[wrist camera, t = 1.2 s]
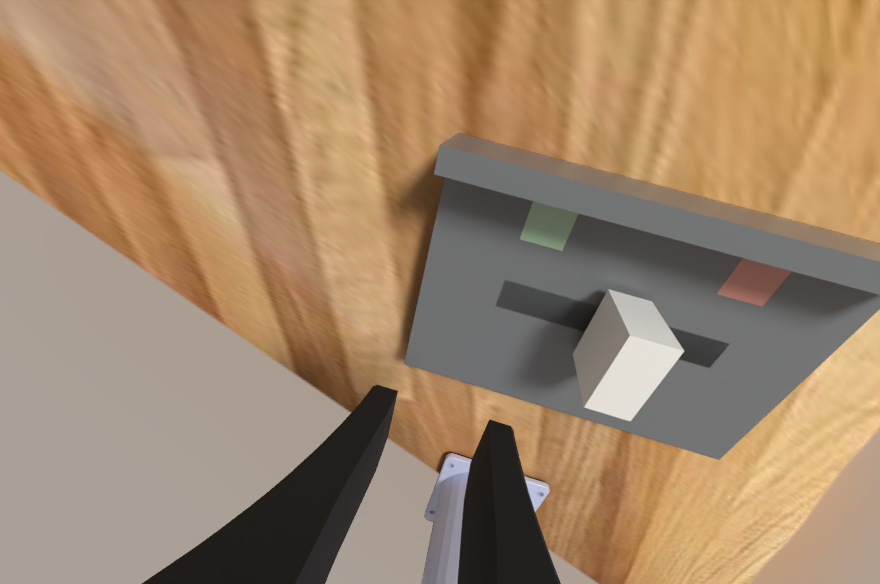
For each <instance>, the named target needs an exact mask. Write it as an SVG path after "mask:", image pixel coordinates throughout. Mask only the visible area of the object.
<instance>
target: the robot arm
mask: <svg viewBox="0 0 880 584" xmlns="http://www.w3.org/2000/svg"><path fill="white" fill-rule="evenodd" d="M397 392H398V391H396V390H392V389H389V388H386V387H383V386H380V385H376V386H373V387H372V389H371V390H370V391H369V393H368V394H367V395H366V397H365V398H364V399H363V400H362V401H361V403H360V404H359V405H358V406H357V407H356V408H355V410H354V411H353V412H352V413H351V414H350V415H349V416H348V417H347V418H346V420H345V421H344V422H343V423H342V424H341V425H340V426H339V427H338V428H337V429H336V430H335V431H334V432H333V433H332V434H331V435H330V436H329V437H328V438H327V439H326V440H325V441H324V442H323V444H321V445H320V446H319V447H318V448H317V449H316V450H315V451H314V452H313V453H312V454H310V455H309V457H307V458H306V459H305V460H304V461H303V462H302V463H301V464H300V465H298V466H297V467H296V468H295V469H294V470H293V471H292V472H291V473H290V474H289V475H288V476H286V477H285V478H284V479H283V480H282V481H280V482H279V483H278V484H277V485H276V486H275V487H274V488H272V489H271V490H270V491H269V492H267V493H266V494H265V495H264V496H262V497H261V498H260V499H259V500H257V501H256V502H255V503H254V504H252V505H251V506H250V507H249V508H247V509H246V510H245V511H243V512H242V513H241V514H240V515H238V516H237V517H236V518H234V519H233V520H232V521H230V522H229V523H228V524H226V525H225V526H224V527H222V528H221V529H220V530H219V531H217V532H216V533H214V534H213V535H212V536H210V537H209V538H207V539H206V540H205V541H203V542H202V543H201V544H199V545H198V546H197V547H195V548H194V549H192V550H191V551H189V552H188V553H186V554H185V555H183V556H182V557H180V558H179V559H177V560H176V561H175V562H173V563H172V564H170V565H169V566H167V567H166V568H164V569H163V570H161V571H160V572H158V573H157V574H155V575H154V576H152V577H151V578H150V579H148V580H147V581H145V582H144V583H142V584H325V582H326V580H327V577H328V575H329V572H330V570H331V568H332V565H333V563H334V561H335V558H336V556H337V554H338V551H339V549H340V547H341V545H342V543H343V541H344V538H345V536H346V534H347V532H348V530H349V528H350V525H351V523H352V521H353V519H354V517H355V515H356V513H357V510H358V508H359V506H360V504H361V502H362V500H363V497H364V495H365V493H366V491H367V489H368V487H369V484H370V482H371V480H372V478H373V476H374V474H375V471H376V468H377V466H378V463H379V460H380V457H381V455H382V452H383V449H384V446H385V443H386V440H387V437H388V434H389V429H390V424H391V420H392V415H393V411H394V406H395V401H396V397H397ZM548 493H549V485H548V484H547V483H545V482H542V481H538V480H535V479H532V478H529V477H526V476H524V474H523V470H522V466H521V462H520V459H519V455H518V450H517V446H516V442H515V437H514V432H513V429H512V427H511V426H508V425H505V424H502V423H499V422H495V421H492V420H489V422H488V424H487V426H486V429H485V431H484V433H483V435H482V438H481V440H480V442H479V445H478V447H477V449H476V451H475V454H474V456H473V458H472V459H469V458H466V457H463V456H460V455H457V454H453V453H449V454H447V455H446V458H445V461H444V463H443V466H442V469H441V471H440V474H439V477H438V479H437V482H436V485H435V487H434V490H433V493H432V496H431V498H430V501H429V503H428V506H427V509H426V512H425V518H426V519H427V520H429V521H432V522H434V523H433V528H432V533H431V538H430V543H429V548H428V553H427V558H426V563H425V568H424V573H423V578H422V583H421V584H561V583H560V580H559V578H558V575H557V573H556V570H555V568H554V565H553V562H552V560H551V557H550V554H549V551H548V549H547V546H546V543H545V540H544V538H543V535H542V532H541V529H540V526H539V523H538V520H537V517H536V514H535V512H536V510H537V509H538V508H539V506H540V505H541V503H542V502H543V500H544V499H545V497H546V496H547V495H548Z"/></svg>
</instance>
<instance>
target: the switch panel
mask: <svg viewBox="0 0 880 584" xmlns="http://www.w3.org/2000/svg"><path fill="white" fill-rule="evenodd" d="M434 174H435V175H438V176H442V177H445V178H444V183H443V187H442V192H441V196H440V201H439V206H438V210H437V215H436V219H435V224H434V229H433V233H432V238H431V242H430V247H429V252H428V256H427V261H426V265H425V270H424V275H423V279H422V284H421V288H420V293H419V298H418V302H417V307H416V311H415V316H414V321H413V325H412V330H411V334H410V339H409V344H408V348H407V353H406V357H405V362H404V364H407V365H410V366H414V367H417V368H420V369H423V370H427V371H430V372H433V373H436V374H440V375H443V376H446V377H449V378H453V379H456V380H459V381H463V382H466V383H469V384H472V385H476V386H479V387H482V388H485V389H489V390H492V391H495V392H499V393H502V394H505V395H508V396H512V397H515V398H518V399H521V400H525V401H528V402H531V403H535V404H538V405H541V406H544V407H548V408H551V409H554V410H557V411H561V412H564V413H567V414H571V415H574V416H577V417H580V418H584V419H587V420H590V421H593V422H597V423H600V424H603V425H607V426H610V427H613V428H616V429H620V430H623V431H626V432H629V433H633V434H636V435H639V436H643V437H646V438H649V439H652V440H656V441H659V442H662V443H665V444H669V445H672V446H675V447H679V448H682V449H685V450H688V451H692V452H695V453H698V454H701V455H705V456H708V457H711V458H715V459H718V460H719V459H720V458H721V457H723V456H724V455H725V454H726V453H727V452H728V451H729V450H730V449H731V448H732V447H733V446H734V445H735V444H736V443H737V442H739V441H740V440H741V439H742V438H743V437H744V436H745V435H746V434H747V433H748V432H749V431H750V430H751V429H752V428H753V427H754V426H756V425H757V424H758V423H759V422H760V421H761V420H762V419H763V418H764V417H765V416H766V415H767V414H768V413H769V412H770V411H772V410H773V409H774V408H775V407H776V406H777V405H778V404H779V403H780V402H781V401H782V400H783V399H784V398H785V397H786V396H788V395H789V394H790V393H791V392H792V391H793V390H794V389H795V388H796V387H797V386H798V385H799V384H800V383H801V382H802V381H804V380H805V379H806V378H807V377H808V376H809V375H810V374H811V373H812V372H813V371H814V370H815V369H816V368H817V367H818V366H820V365H821V364H822V363H823V362H824V361H825V360H826V359H827V358H828V357H829V356H830V355H831V354H832V353H833V352H834V351H836V350H837V349H838V348H839V347H840V346H841V345H842V344H843V343H844V342H845V341H846V340H847V339H848V338H849V337H850V336H851V335H853V334H854V333H855V332H856V331H857V330H858V329H859V328H860V327H861V326H862V325H863V324H864V323H865V322H866V321H867V320H869V319H870V318H871V317H872V316H873V315H874V314H875V313H876V312H877V311H878V310H879V309H880V243H876V242H872V241H869V240H865V239H861V238H857V237H853V236H849V235H846V234H842V233H838V232H834V231H830V230H827V229H823V228H819V227H815V226H811V225H808V224H804V223H800V222H796V221H792V220H788V219H785V218H781V217H777V216H773V215H769V214H766V213H762V212H758V211H754V210H750V209H747V208H743V207H739V206H735V205H731V204H727V203H724V202H720V201H716V200H712V199H708V198H705V197H701V196H697V195H693V194H689V193H686V192H682V191H678V190H674V189H670V188H667V187H663V186H659V185H655V184H651V183H647V182H644V181H640V180H636V179H632V178H628V177H625V176H621V175H617V174H613V173H609V172H606V171H602V170H598V169H594V168H590V167H586V166H583V165H579V164H575V163H571V162H567V161H564V160H560V159H556V158H552V157H548V156H545V155H541V154H537V153H533V152H529V151H526V150H522V149H518V148H514V147H510V146H506V145H503V144H499V143H495V142H491V141H487V140H484V139H480V138H476V137H472V136H468V135H465V134H461V133H458V134H456V135H455V136H453V137H452V138H450V139H448V140H447V141H445V142H443V143H442V144H440V146H439V151H438V156H437V161H436V166H435V171H434ZM608 289H610V290H613V291H617V292H620V293H624V294H628V295H631V296H635V297H638V298H642V299H645V300H649V301H652V302H653V304H654V305H655V307H656V308H657V310H658V311H659V313H660V314H661V316H662V318H663V319H664V321H665V322H666V324H667V325H668V327H669V328H670V330H671V331H672V333H673V334H674V336H675V337H676V339H677V341H678V342H679V344H680V345H681V347H682V348H683V350H684V352H683V354H682V355H681V356H680V358H679V359H678V360H677V361H676V363H675V364H674V365H673V367H672V368H671V369H670V371H669V372H668V373H667V375H666V376H665V377H664V378H663V380H662V381H661V382H660V384H659V385H658V386H657V388H656V389H655V390H654V391H653V393H652V394H651V395H650V397H649V398H648V399H647V401H646V402H645V403H644V404H643V406H642V407H641V408H640V410H639V411H638V412H637V414H636V415H635V416H634V417H633V419H632V420H631V421H627V420H624V419H621V418H617V417H614V416H611V415H607V414H604V413H601V412H598V411H594V410H591V409H588V408H584V405H583V400H582V396H581V391H580V386H579V381H578V377H577V372H576V367H575V363H574V358H573V353H574V351H575V349H576V347H577V345H578V343H579V342H580V340H581V338H582V336H583V334H584V332H585V331H586V329H587V327H588V325H589V323H590V322H591V320H592V318H593V316H594V314H595V312H596V311H597V309H598V307H599V305H600V303H601V302H602V300H603V298H604V296H605V294H606V292H607V291H608Z"/></svg>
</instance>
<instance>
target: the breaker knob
mask: <svg viewBox="0 0 880 584" xmlns="http://www.w3.org/2000/svg"><path fill="white" fill-rule="evenodd" d="M683 352H684V350H683V348H682V347H681V345H680V344H679V342H678V341H677V339H676V337H675V336H674V334H673V333H672V331H671V330H670V328H669V327H668V325H667V324H666V322H665V321H664V319H663V318H662V316H661V314H660V313H659V311H658V310H657V308H656V307H655V305H654V304H653V302H652V301H649V300H645V299H642V298H638V297H635V296H631V295H628V294H624V293H620V292H617V291H613V290H610V289H608V291H607V292H606V294H605V296H604V298H603V300H602V302H601V303H600V305H599V307H598V309H597V311H596V312H595V314H594V316H593V318H592V320H591V322H590V323H589V325H588V327H587V329H586V331H585V332H584V334H583V336H582V338H581V340H580V342H579V343H578V345H577V347H576V349H575V351H574V353H573V358H574V363H575V367H576V372H577V377H578V381H579V386H580V391H581V396H582V400H583V405H584V408H588V409H591V410H594V411H598V412H601V413H604V414H607V415H611V416H614V417H617V418H621V419H624V420H627V421H631V420H632V419H633V417H634V416H635V415H636V414H637V412H638V411H639V410H640V408H641V407H642V406H643V404H644V403H645V402H646V401H647V399H648V398H649V397H650V395H651V394H652V393H653V391H654V390H655V389H656V388H657V386H658V385H659V384H660V382H661V381H662V380H663V378H664V377H665V376H666V375H667V373H668V372H669V371H670V369H671V368H672V367H673V365H674V364H675V363H676V361H677V360H678V359H679V358H680V356H681V355H682V354H683Z"/></svg>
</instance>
